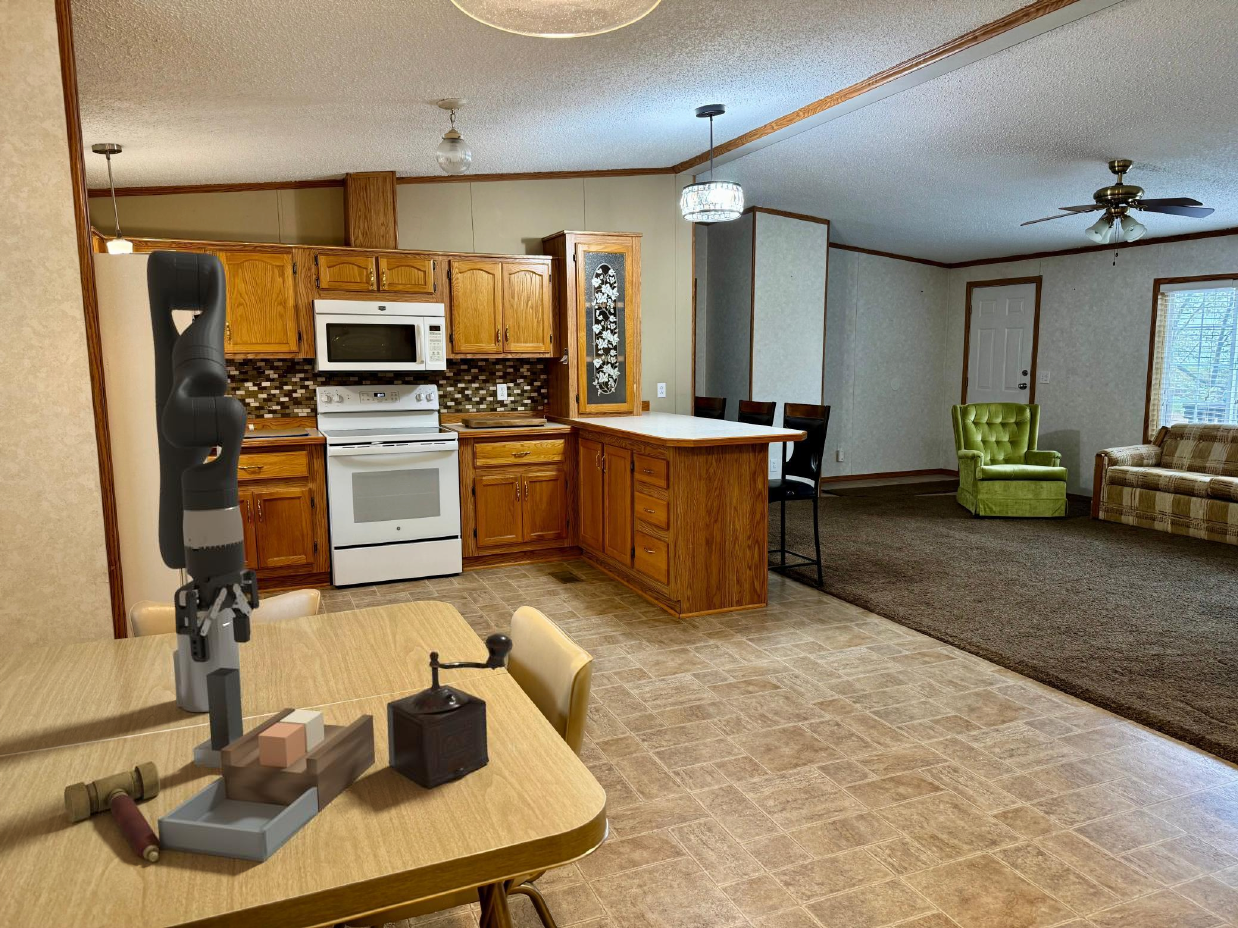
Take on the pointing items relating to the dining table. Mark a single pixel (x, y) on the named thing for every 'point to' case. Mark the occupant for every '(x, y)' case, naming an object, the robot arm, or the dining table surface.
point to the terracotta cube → (281, 744)
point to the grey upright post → (221, 716)
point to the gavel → (120, 804)
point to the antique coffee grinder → (442, 725)
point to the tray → (233, 824)
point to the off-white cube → (308, 726)
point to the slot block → (299, 765)
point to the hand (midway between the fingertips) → (222, 651)
